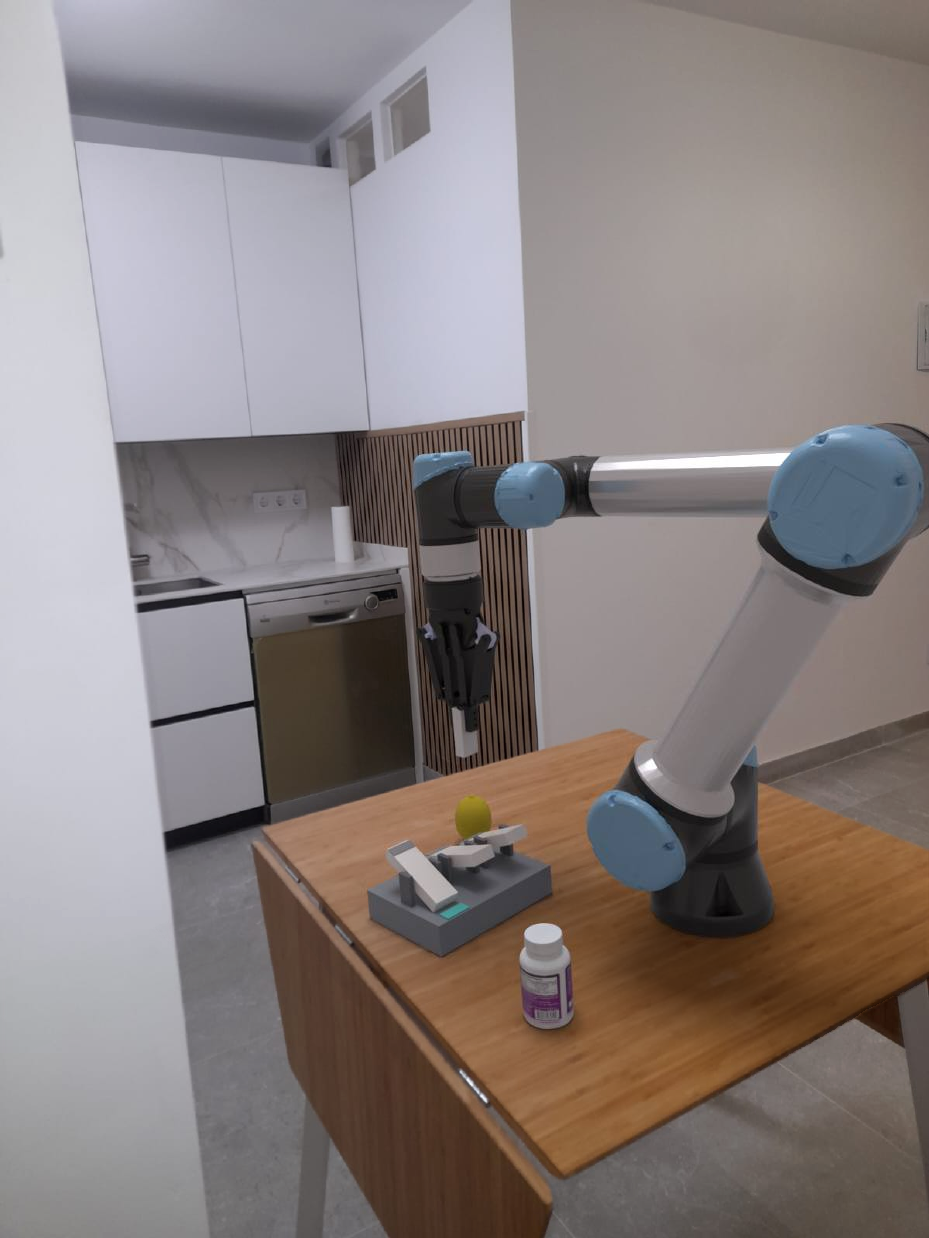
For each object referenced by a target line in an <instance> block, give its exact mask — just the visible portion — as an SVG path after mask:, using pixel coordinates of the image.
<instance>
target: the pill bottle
mask: <svg viewBox="0 0 929 1238" xmlns="http://www.w3.org/2000/svg"><path fill="white" fill-rule="evenodd" d="M523 933H524V934H523V939H524V940H523V941H524V943H523V944H524V947H523V948H522V950H521V952H520V954H519V962H518V963H519V973H520V986H521V987H520V989H521V1001H522V1003H521V1004H522V1009H523V1010H522V1011H523V1016H524V1018H525V1020H526V1022H528V1023H529V1024H530V1025H531V1026H533V1027H535V1028H538V1029H542V1030H552V1029H553V1030H554V1029H558V1028H562V1027H564V1026H566V1025H567V1024H569V1023H570V1021H571V1020H572V1018H573V1017H574V1013H575V1012H574V994H573V993H574V991H573V989H574V988H573V978H572V977H573V975H572V973H573V972H572V960H571V959H572V957H571V954H570V952H569V950H568V948H567V947H566V946H565V945H564V939H563V938H564V937H563V931H562V929H561V928H560V927H559V926H558V925H555V924H552V923H545V922H544V923H543V922H542V923H536V924H532V925H530V926H529V927H527V928H526V929H525V931H524V932H523Z"/></svg>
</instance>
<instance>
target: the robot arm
mask: <svg viewBox="0 0 929 1238" xmlns="http://www.w3.org/2000/svg"><path fill="white" fill-rule="evenodd" d="M412 464H413V465H412V467H413V472H412V476H413V477H412V478H413V487H412V493H413V495H414V496H413V497H414V503H415V510H416V520H417V529H418V530H417V531H418V540H419V541H418V543H419V555H420V567H421V575H422V576H423V577H426V579H424V581H423V583H422V589H423V599H424V606H425V608H426V609H428V610H429V615H428V619H427V620H428V622H427V623H426V624H425V625H424V626H420V627H418V628H416V630H415V634H416V636H417V638H418V639H419V642H420V644H421V645H422V649H423V652H424V656H425V659H426V663H427V667H428V671H429V672H428V673H429V674H430V678H431V679H430V680H431V683H432V687H433V690H434V694H435V697H436V699H437V700H439V701H441V700H443V701H444V702H445V704H446V705H447V707H448V710H449V720H450V721H449V722H450V726H451V727H450V728H451V729H452V730H453V734H454V747H455V757H459V758H464V759H465V758H468V757H469V756H472V755H474V754H477V753H479V743H478V732H477V731H479V730H480V719H479V717H480V715H479V706H480V705H482V704H484V703H486V702H487V703H488V702H489V701H490V699H491V692H492V691H491V690H492V683H493V682H492V681H493V675H494V674H493V673H494V664H495V655H496V648H497V646H498V644H499V642H500V640H501V634H500V632H499V631H498V630H495V631H491V629H489V628H488V627H487V626H486V625H485V619H484V617H483V615H482V612H481V607H482V605H483V603H484V601H485V600H484V588H483V585H484V584H483V578H482V577H481V575H480V574H478V572H480V571H481V569H482V567H481V556H480V555H481V554H480V541H479V540H480V539H479V530H480V529H518V530H520V531H527V530H531V529H537V528H539V529H540V528H547V527H549V526H552V525H553V524H554V523H555V522H556V521H557V520H560V519H561V520H563V519H567V518H595V517H596V518H601V517H627V518H628V517H634V518H635V517H642V518H643V517H647V518H648V517H651V518H653V517H654V518H655V517H656V518H660V517H661V518H748V519H750V518H755V519H756V518H757V519H758V518H760V519H762V518H764V519H765V520H764V522H763V523H762V526H761V528H760V529H759V530H758V533H757V534H756V536H755V543H756V546H757V548H758V552H759V554H760V557H761V560H760V562H759V564H758V566H757V568H756V569H755V571H754V573H753V574H752V576H751V577H750V579H749V581H748V583H747V585H746V586H745V588H744V590H743V591H742V593H741V595H740V597H739V599H738V601H737V602H736V604H735V605H734V607H733V609H732V611H731V612H730V614H729V616H728V617H727V619H726V622H725V623H724V625H723V627H722V628H721V630H720V632H719V633H718V636H717V637H716V639H715V640H714V643H713V644H712V646H711V647H710V649H709V651H708V653H707V654H706V656H705V658H704V659H703V661H702V663H701V664H700V667H699V669H698V670H697V672H696V674H695V676H694V677H693V679H692V681H691V682H690V683H689V686H688V688H687V689H686V692H685V693H684V694H683V696H682V697H681V700H680V701H679V703H678V704H677V707H676V709H675V710H674V712H673V714H672V715H671V717H670V719H669V721H668V722H667V724H666V726H665V728H664V730H663V732H662V733H661V734H660V736H659V738H658V739H650V740H649V739H648V740H647V741H643V742H642V743H641V744H640V745H639V746H638V747H637V748H636V750H635V752H634V754H633V755H632V757H631V758H630V761H629V762H628V764H627V765H626V767H625V769H624V771H623V773H622V775H621V776H620V778H619V780H618V781H617V782H616V784H615V785H614V786H613V788H612V789H611V790H607V791H605V792H603V793H602V794H601V795H600V796H598V798H597V799H596V800H595V802H593V803H592V805H591V806H590V809H589V810H588V814H587V819H586V833H587V838H588V841H589V843H590V844H591V845H592V851H593V853H594V856H595V858H596V859H597V860H598V862H599V864H601V867H603V868H604V870H605V871H606V872H607V873H609V874H610V876H612V877H613V878H614V879H615V880H617V881H618V882H619V883H621V884H623V885H625V886H626V887H628V888H631V889H633V890H637V891H646V892H649V905H650V906H649V907H650V909H651V911H652V912H653V914H654V916H655V917H656V918H657V919H658V920H659V921H660V922H662V923H663V924H664V925H667V926H669V927H670V928H673V929H675V930H677V931H680V932H683V933H686V934H690V935H694V936H701V937H709V938H731V937H738V936H744V935H747V934H750V933H754V932H756V931H759V930H760V929H762V928H764V927H765V926H766V925H768V924H769V922H771V920H772V918H773V915H774V893H773V892H774V891H773V888H772V887H771V885H770V882H769V878H768V876H767V873H766V870H765V866H764V864H763V860H762V859H761V856H760V853H759V768H760V763H759V762H758V755H757V754H758V753H757V751H758V750H757V746H756V743H757V741H758V740H759V739H760V737H761V735H762V733H763V732H764V731H765V730H766V728H767V726H768V724H769V723H770V721H771V719H772V718H773V717H774V715H775V714H776V712H777V711H778V709H779V708H780V706H781V704H782V703H783V701H784V700H785V698H786V697H787V695H788V693H789V692H790V690H791V689H792V687H793V686H794V684H795V683H796V681H797V679H798V678H799V676H800V675H801V674H802V672H803V670H804V669H805V667H806V665H807V664H808V663H809V661H810V660H811V657H813V655H814V654H815V651H816V650H817V649H818V647H819V645H820V644H821V643H822V641H823V639H824V637H825V636H826V634H827V633H828V632H829V630H830V629H831V626H832V625H833V624H834V622H835V621H836V619H837V617H838V616H839V614H840V612H841V611H842V610H843V609H844V606H845V605H846V604H849V603H854V602H858V601H863V600H868V599H870V597H871V596H872V595H873V594H874V592H875V591H876V589H877V588H878V586H879V584H880V583H881V582H882V580H883V578H884V577H885V575H886V574H887V573H888V572H889V569H890V568H891V567H892V565H893V564H894V562H895V561H896V559H897V558H898V556H899V555H900V553H901V552H902V550H903V548H905V546H906V544H907V543H908V542H909V541H910V540H912V539H914V538H916V537H918V536H919V535H921V534H922V533H925V531H928V530H929V433H928V432H926V431H924V430H923V429H921V428H919V427H916V426H913V425H909V424H906V423H899V422H886V423H885V422H884V423H875V424H870V425H867V424H848V425H840V426H837V427H834V428H830V429H827V430H823V431H822V432H820V433H818V434H815V435H814V436H813V437H811V438H809V439H806V440H805V441H804V442H802V443H801V444H799V445H798V446H789V447H787V446H785V447H784V446H783V447H764V448H762V447H761V448H760V447H759V448H744V449H743V448H742V449H741V448H740V449H721V450H701V451H700V450H698V451H697V450H696V451H679V452H678V451H676V452H656V453H653V452H652V453H637V454H636V453H635V454H632V453H631V454H614V455H602V456H601V455H600V456H599V455H595V456H592V455H585V454H584V455H582V454H581V455H572V456H567V457H561V458H554V459H544V460H536V461H535V460H534V461H533V460H531V461H525V462H524V461H520V462H516V463H506V464H505V463H503V464H494V465H485V466H484V465H483V466H477V465H476V466H475V464H474V461H473V456H472V454H471V452H470V451H468V450H459V451H447V452H436V453H424V454H423V453H421V454H418V455H417V456H416V457H415V459H414V461H413V462H412Z"/></svg>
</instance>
